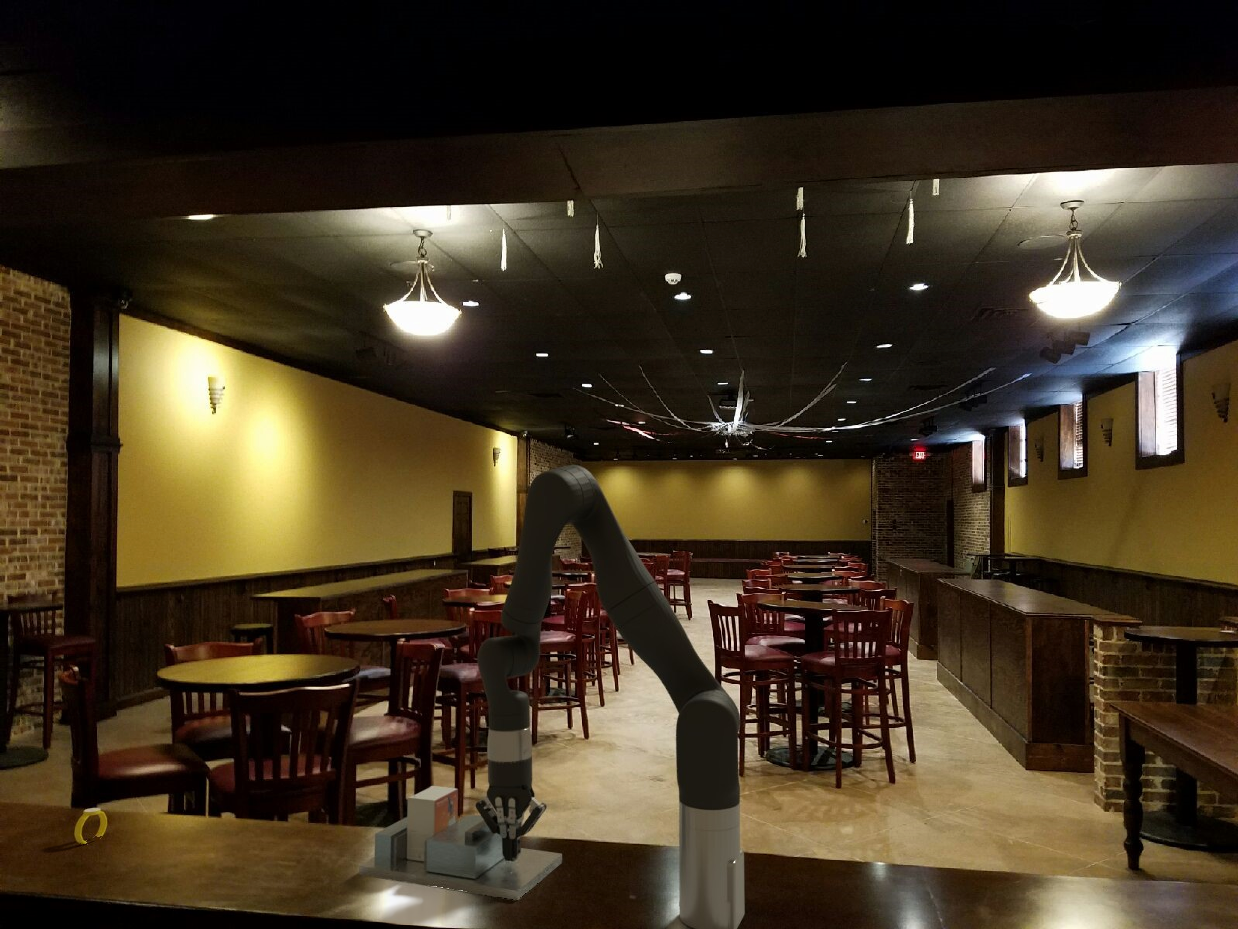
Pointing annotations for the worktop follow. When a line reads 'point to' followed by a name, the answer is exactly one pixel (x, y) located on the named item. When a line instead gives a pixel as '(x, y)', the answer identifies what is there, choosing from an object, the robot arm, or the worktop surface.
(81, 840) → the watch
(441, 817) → the small box
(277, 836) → the worktop surface
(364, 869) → the vise base
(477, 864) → the sliding jaw
